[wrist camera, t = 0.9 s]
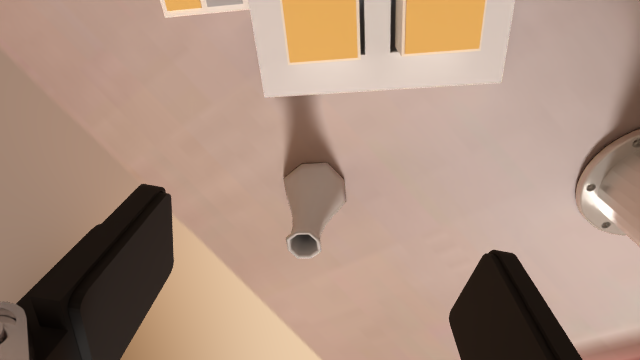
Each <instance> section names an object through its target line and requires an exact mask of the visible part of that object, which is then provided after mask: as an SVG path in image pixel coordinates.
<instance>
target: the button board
mask: <svg viewBox="0 0 640 360" xmlns="http://www.w3.org/2000/svg"><path fill="white" fill-rule="evenodd" d="M248 2H249V8H250V14H251V20H252V26H253V32H254V38H255V44H256V50H257V56H258V62H259V68H260V74H261V80H262V85H263V91H264V97H265V98H268V97H283V96H299V95H315V94H331V93H347V92H363V91H379V90H395V89H411V88H427V87H443V86H459V85H475V84H490V83H502V77H503V71H504V65H505V59H506V53H507V47H508V41H509V35H510V29H511V23H512V17H513V11H514V5H515V0H487V5H486V13H485V20H484V28H483V36H482V43H481V51H471V52H458V53H444V54H431V55H418V56H404V57H401V55H400V54H399V52H398V51H397V49H396V47H395V14H396V0H359V17H360V51H361V60H350V61H337V62H323V63H310V64H297V65H288V60H287V52H286V45H285V37H284V29H283V21H282V13H281V6H280V0H248Z"/></svg>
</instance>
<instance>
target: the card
mask: <svg viewBox="0 0 640 360" xmlns="http://www.w3.org/2000/svg"><path fill="white" fill-rule="evenodd" d="M160 1H161V5H162V9H163V12H164V16H165V18H167V17H177V16H188V15H198V14H208V13H219V12H229V11H239V10H250V8H249V2H248V0H160Z"/></svg>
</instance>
